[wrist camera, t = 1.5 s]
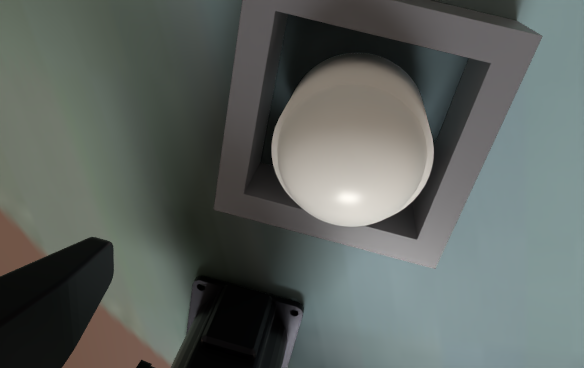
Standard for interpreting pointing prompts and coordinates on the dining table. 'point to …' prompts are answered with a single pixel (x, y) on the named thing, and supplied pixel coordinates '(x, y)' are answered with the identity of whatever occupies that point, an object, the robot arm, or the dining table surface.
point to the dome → (353, 141)
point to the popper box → (450, 143)
